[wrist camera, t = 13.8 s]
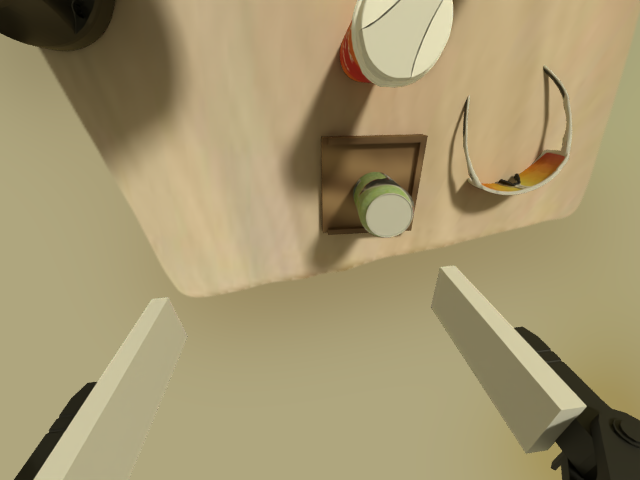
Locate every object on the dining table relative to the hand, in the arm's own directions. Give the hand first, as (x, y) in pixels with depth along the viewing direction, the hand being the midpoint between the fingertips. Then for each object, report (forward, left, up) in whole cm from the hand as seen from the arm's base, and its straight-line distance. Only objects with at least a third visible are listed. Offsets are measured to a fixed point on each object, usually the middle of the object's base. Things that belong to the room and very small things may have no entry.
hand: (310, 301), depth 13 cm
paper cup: (-13, +8, -27) cm, 32 cm away
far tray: (+3, +10, -27) cm, 29 cm away
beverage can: (+3, +10, -26) cm, 28 cm away
